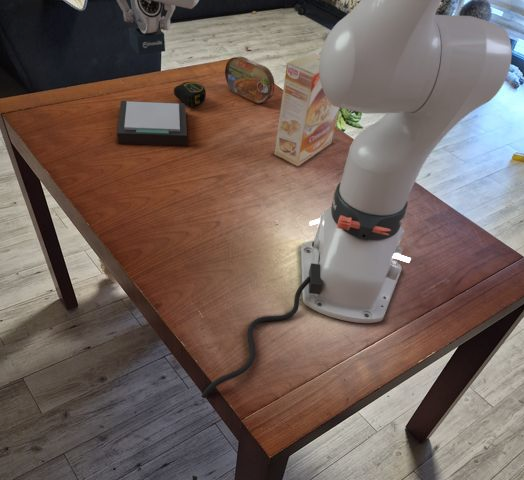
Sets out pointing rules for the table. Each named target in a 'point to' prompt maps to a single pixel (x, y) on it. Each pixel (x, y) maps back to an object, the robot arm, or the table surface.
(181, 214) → the table surface
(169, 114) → the scale
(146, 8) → the watch
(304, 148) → the coffeecake box
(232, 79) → the tin
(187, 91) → the tape measure
